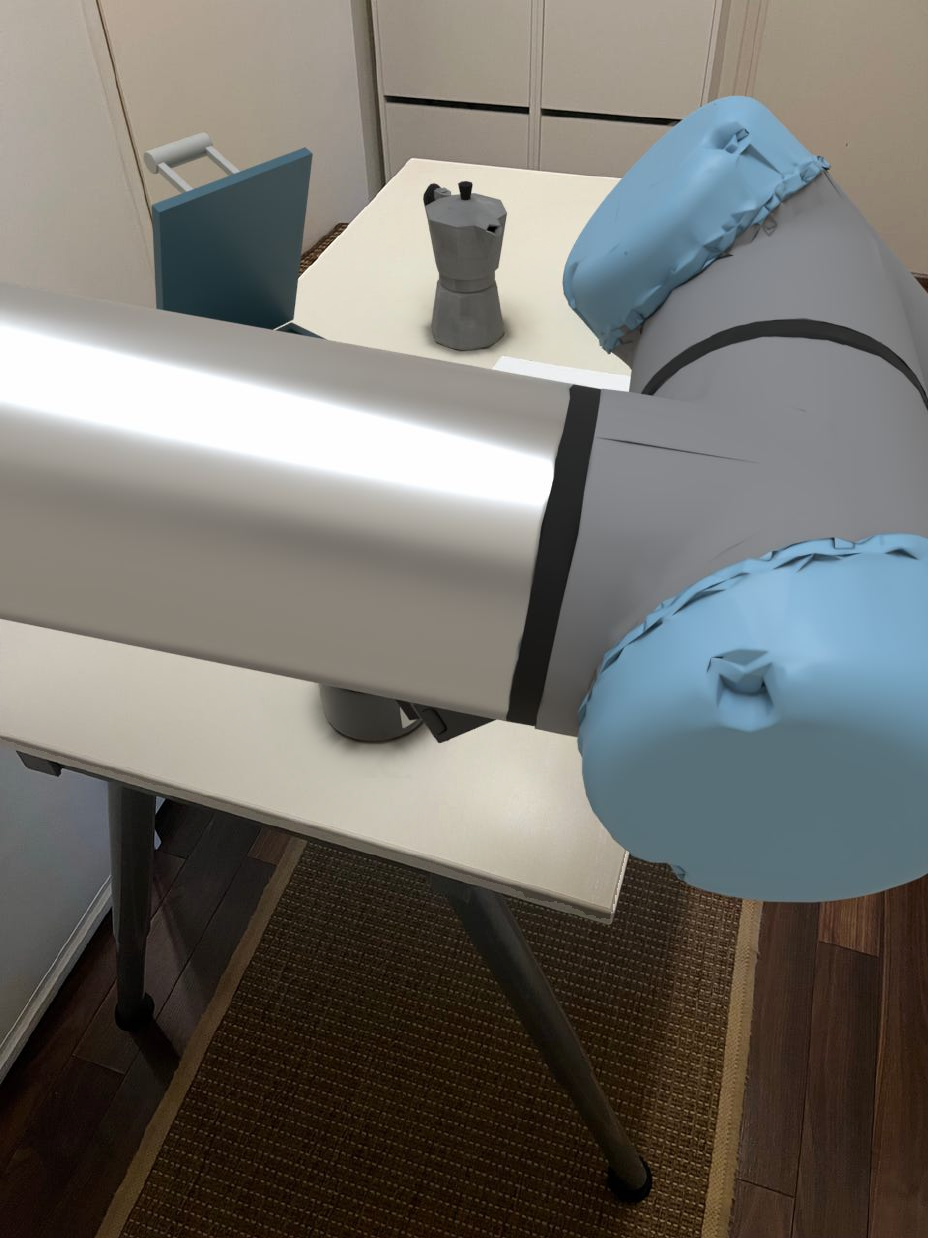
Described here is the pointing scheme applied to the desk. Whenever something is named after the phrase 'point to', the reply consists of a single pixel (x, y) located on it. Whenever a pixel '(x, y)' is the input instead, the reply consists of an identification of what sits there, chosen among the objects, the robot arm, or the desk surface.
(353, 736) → the ink bottle
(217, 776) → the desk surface
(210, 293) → the lid
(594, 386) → the plate
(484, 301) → the coffeepot
